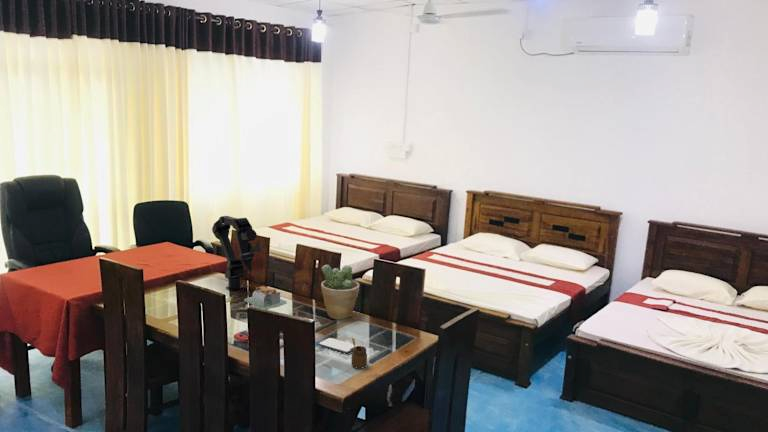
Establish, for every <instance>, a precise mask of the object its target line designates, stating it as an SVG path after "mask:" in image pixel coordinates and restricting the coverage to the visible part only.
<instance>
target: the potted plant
mask: <svg viewBox="0 0 768 432" xmlns="http://www.w3.org/2000/svg"><path fill="white" fill-rule="evenodd" d="M321 270H322V274H323V275H324V280H323V281H321V283H320V285H321V286H320V288H321V294H322V295H323V302H324V306H325V309H326V313H327V316H328V317H329V318H331V319H334V320H345V318H346V319H349V318H351V317H352V315H353V312H354V310H355V306H356V303H357V298H358V295H359V294H360V293H359V292H360V283H359V282H358V281H356V280H354V278H353V267H352V266H351V265H349V264H348V265H347V264H346V265H344V266H342V269H341V270H339V268H338V267H334V268H332V267H331V266H330V265H329V264H324V265H323V266H322V267H321ZM350 316H351V317H350ZM348 317H349V318H348Z"/></svg>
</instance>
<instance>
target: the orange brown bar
mask: <svg viewBox="0 0 768 432" xmlns="http://www.w3.org/2000/svg"><path fill="white" fill-rule="evenodd" d="M263 286H264V285H262V286H257V287H258V290H263V291H266V290H267V291H268V292H271V294H273V293H276V291H277V289H276V288H270V287H266V286H265V287H263Z"/></svg>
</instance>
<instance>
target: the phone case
mask: <svg viewBox="0 0 768 432" xmlns="http://www.w3.org/2000/svg"><path fill="white" fill-rule="evenodd" d="M318 345H320V346H322V347H321V348H323V347H325V348H324V349H326V348H328V349H327V350H329V349H331V350H330V351H332V350H333V351H332V352H335V351H337V352H336V353H338V352H341V353H340V354H342V353H345V354H349V353H351V352H353V348H354V345H353V343H352V342H347V341H345V340H340V339H337V338H334V337H328V338H325V339H323V340H321V341H320V342H318V343H317V346H318ZM320 346H319V347H320ZM356 346H359V345H357V344H356V345H355V347H356ZM345 354H344V355H345ZM351 354H352V353H351ZM349 355H350V354H349Z"/></svg>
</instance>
